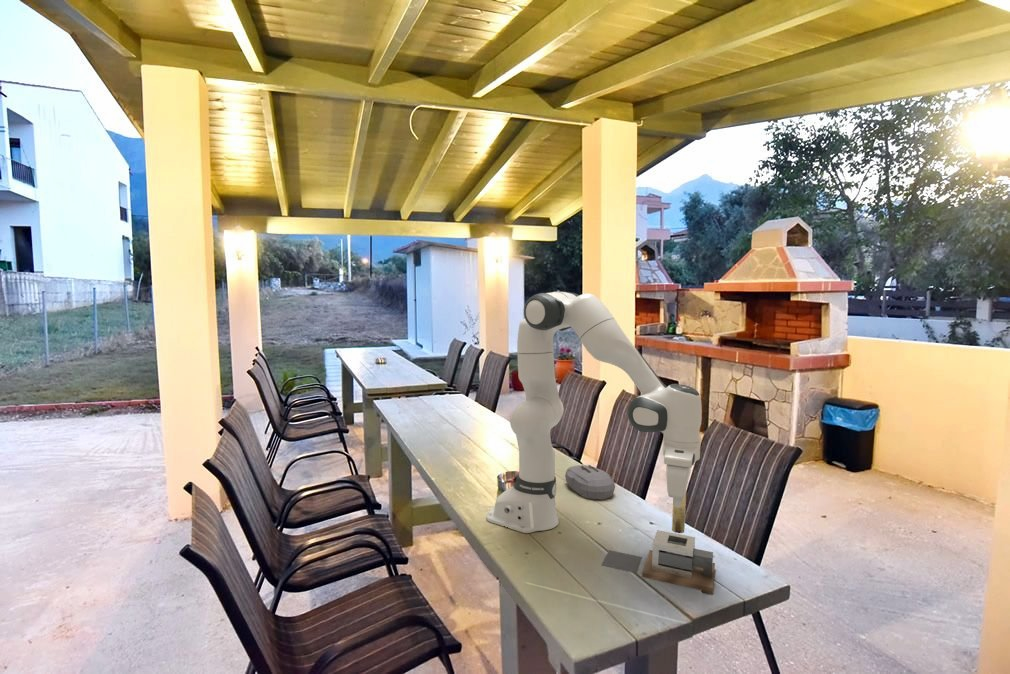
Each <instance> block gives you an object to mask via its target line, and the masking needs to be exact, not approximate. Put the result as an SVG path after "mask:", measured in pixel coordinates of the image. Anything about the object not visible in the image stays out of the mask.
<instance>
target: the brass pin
mask: <svg viewBox="0 0 1010 674" xmlns="http://www.w3.org/2000/svg"><path fill="white" fill-rule="evenodd" d="M686 500H687V490H686V491H685V496H684V498H683V499H682V507H681V508H678V507H675V506H674V498H672V519H671V520H672V521H671V523H672V524H671V531H672V532H673V533H676V534H683V533H685V524H686V522H685V521H686V503H687V501H686Z"/></svg>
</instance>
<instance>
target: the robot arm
mask: <svg viewBox="0 0 1010 674" xmlns="http://www.w3.org/2000/svg"><path fill="white" fill-rule="evenodd" d="M523 316H524V318H523V319H522V320H521V321H520V322H519V325H518V326H519V327H518V331H517V332H518V333H517V340H516V341H517V342H516V345H517V348H516V352H517V372H518V374H517V375H518V380H519V382H520V383H521V385H522V387H523V390H524V395H525V401H523V402H521V403H519V404H518V405H517V406H516V407H515V408H514V410H513V411H512V413H511V414H510V418H509V424H510V428H511V430H512V432H513V433H514V434H515V436H516V441H517V446H518V455H519V456H518V472H517V473H516V474H515V475H514V476H513V478H512V479H511V484H512V486H510V487H509V488H507V489H506V490H504V491H503V492H502V493H500V494H499V495H498V497H497V498H496V499H495V502H494V506H493V507H492V508H491V509H490V510H489V511H488V512H487V515H486V521H487V522H489V523H493V524H496V525H498V526H502V527H504V526H505V528H507V527H508V529H511V530H515V531H516V532H520V533H524V534H529V533H534V532H539V531H540V532H541V531H547V530H551V529H554V528H556V527H557V526H558V525H559V522H560V520H559V516H558V512H557V507H556V494H557V477H556V476H555V475H556V473H555V472H556V452H555V450H554V448H553V444H552V439H551V430H552V428H554V427H555V426H557V425H558V424H559V423H560V421H561V419H562V417H563V415H564V411H565V409H564V403H563V402H562V399H561V398H560V394H559V390H558V385H557V381H556V374H555V371H556V370H555V354H554V337H555V334H556V332H557V331H560V332H563V331H566V330H568V329H571V328H572V329H573V330H574V332H575V333H576V335H577V337H578V339H579V340H580V342H581V344H582V345H583V347H584V349H585V350H586V351H587V352H588V353H589V354H590V356H591V357H592V358H593V359H595V360H596V361H599V362H602V363H607V364H610V365H612V366H616V367H617V368H619V369H621V370H623V371H624V372H625V373H626V374H627V376H628V377H629V378H630V379H631V381H632V382H633V383H634V386H636V388H638V390H639V392H640V393H641V394H642V395H638V396H637V397H635V398H633V399H632V400H631V401H630V402H629V404H628V406H627V419H628V421H629V423H630V425H631V426H632V427H633V428H634V429H636V430H637V431H639V432H642V433H662V434H663V439H662V443H663V444H662V456H663V464H664V465H666V473H665V474H666V489H667V496H668V497H670V498H672V499H673V498H674V506H675V507H678V508H681V507H682V499H683V498H684V496H685V491H686V492H687V488H688V487H687V486H688V483H689V480H690V476H691V472H692V471H691V468H693V466H694V465H695V463H696V462H697V461H699V460H700V459H701V441H702V440H701V435H700V428H701V425H702V419H703V417H702V415H703V413H702V411H703V409H702V408H703V407H702V399H701V394H700V393H699V391H697V389H695V387H692V386H690V385H685V384H679V383H672V384H669V385H668V386H667V385H666V384H665V383H664V382H663V381H662V380H661V379H660V377H659V376H658V375H657V373H656V372H655V371H654V369H653V368H652V367H651V365H650V364H649V363H648V361H647V360H646V358H644V356H643V355H642V353H640V351H639V350H638V349H637V348H636V347H635V345H634V344H633V343H632V342H631V340H630V339H629V338H628V336H627V335H626V333H625V332H624V331H623V329H622V328H621V326H620V325H619V323H618V321H617V320H616V319H615V317H614V316H613V314H612V312H610V310H609V309H608V308H607V306H606V305H605V304H604V303H603V302H602V301H601V300H600V299H599V298H598V296H597V295H595V294H593V293H587V292H586V293H582V294H580V295H579V294H578V293H575V292H570V291H568V292H567V291H552V292H540V293H536V294H534V295H532V296H530V297H529V298H528V299H527V300H526V302H525V305H524V308H523Z"/></svg>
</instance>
